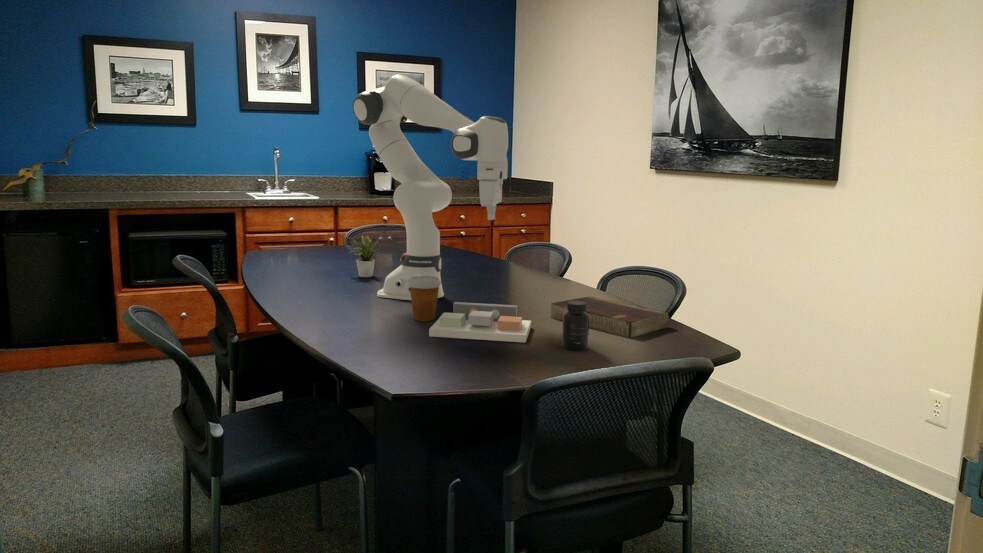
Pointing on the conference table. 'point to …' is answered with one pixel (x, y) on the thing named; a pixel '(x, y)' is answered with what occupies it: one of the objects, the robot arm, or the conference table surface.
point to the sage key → (452, 320)
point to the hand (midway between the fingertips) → (491, 219)
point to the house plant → (365, 258)
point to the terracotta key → (509, 323)
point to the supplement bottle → (575, 327)
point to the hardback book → (616, 316)
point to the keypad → (480, 330)
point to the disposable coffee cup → (424, 296)
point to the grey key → (480, 318)
